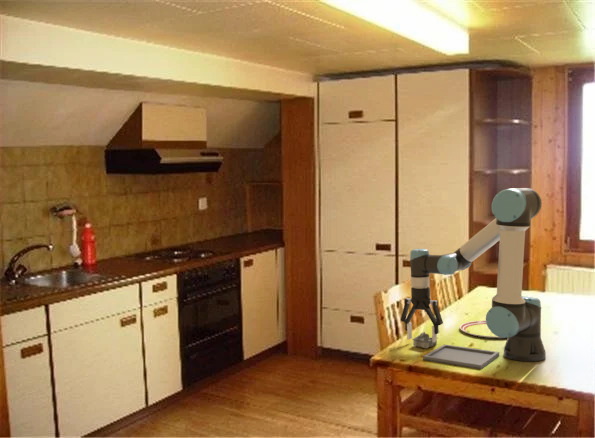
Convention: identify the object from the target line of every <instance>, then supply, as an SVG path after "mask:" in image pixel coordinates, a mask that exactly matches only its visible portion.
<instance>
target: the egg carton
mask: <svg viewBox="0 0 595 438" xmlns="http://www.w3.org/2000/svg"><path fill="white" fill-rule="evenodd" d="M412 341H413V343H412V345H413V346H414V347H419V348H424V349H429V347H433V346H436V345H437V344H438V340H437V341H436V342H432V337H430V335H429V333H426V332H425V331H423V332H421V333H420V334H419V335H417V336H415V337H414V338H412Z"/></svg>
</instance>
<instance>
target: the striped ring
mask: <svg viewBox="0 0 595 438" xmlns="http://www.w3.org/2000/svg"><path fill="white" fill-rule="evenodd" d="M475 325H476V326H477V325H487V324H486V320H472V321H467V322H464V323H461V324H460V325H459V329H460V330H461V331H462V332H464V333H466V334H468V335H471V336H474V337H477V336H478V338H483V337H484V339H485V338H486V339H503V338H502V337H498V336H496V335H495V336H493V335H482V334H476V333H471V332H468V331H467V328H469V327H472V326H475ZM507 338H508V337H507ZM507 338H506V339H507Z"/></svg>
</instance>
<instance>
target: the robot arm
mask: <svg viewBox="0 0 595 438" xmlns="http://www.w3.org/2000/svg"><path fill="white" fill-rule="evenodd" d="M542 203H543V202H542V198H541V196H540V194H539V192H537V191H535V190H534V189H533V188H530V187H529V188H528V187H520V188H519V187H518V188H514V187H512V188H507V189H503V190H501V191H500V190H499V192H498V193H497V194H496V195H495V196H494V197H493V200H492V202H491V212H492V215H494V219H492V221H490V222H488V224H487V225H486V226H485V227H483V228H482V229H480V230H479V231H478V232H477V233H476V234H474V235H473V236H472V237H471V238H469V239H468V240H467V241H466V242H465V243H463V244H462V245H461V246H460V247H459V248H457V249H456V250H455V251H454V252H451V253H445V254H430V252H429V249H427V248H415V249H412V250H411V251H410V256H409V258H410V259H409V263H410V286H411V288H410V293H411V294H410V295H411V298H409V297H407V298H404V306H403V309H402V312H401V317H400V322H403V323H404V328H405V329H404V330H405V331H406V333H407V335H406V336H407V340H412V339H413V335H412V334H413V333H412V332H413V331H412V329H413V328H412V325H413V324H412V322H411V320H412V318H413V316H414V314H415V313H416V311H417V310H422V311H424V312H425V313H426V314H427V315H428V317H429V320H430V321H431V322H432V323H431V324H433V325H432V326H431V333H432V334H431V335H432V336H431V338H432V342H436V341H437V342H438V337H437V335H438V334H439V327H440V326H441V325H443V324H444V321H443V318H442V314H441V312H440V309H439V305H438V303H439V301H438V300H432V299H431V287H430V274H436V275H444V276H451V275H454V274H455V273H456V272H458V271H464V270H467V269H469V268H470V267H471V266H472V262H474V261H476V259H477V258H479V257H481V255H483V254H484V253H485V252H486V251H488V250H489V249H490V248H492V247H493V246H494V245H495V244H497V242H499V245H498V249H499V250H498V265H497V267H498V268H497V281H496V282H497V284H496V294H495V295H494V296H493V297H491V308H490V309H488V310H487V312H486V314H485V321H486V324H485V325H487V328H488V329H489V330H490V332H491V333H492V334H493V335H495V336H497V337H502V338H501V339H506V342H505V345H504V348H503V356H504V357H506V358H508V359H509V360H515V361H520V362H539V361H543V360H545V359H546V357H547V356H546V353H547V352H546V349H545V346H544V343H543V339H542V334H541V333H542V328H541V326H542V325H541V324H542V307H541V306H542V305H541V304H542V303H541V300H540V299H539V298H537V297H532V296H522V291H523V290H522V289H523V272H524V257H525V243H526V241H525V239H526V231H527V230H528V229H529V228H530V227H531V220H533V219H534V218H535V217H536V216H537V215H538V214H539V213H540V211H541V209H542V206H543V205H542ZM411 304H412V307H411V309H410V310H409V308H410V305H411ZM430 304H431V306H432V308H431V306H430ZM408 312H409V313H408ZM507 337H508V338H507Z"/></svg>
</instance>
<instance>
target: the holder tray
mask: <svg viewBox="0 0 595 438" xmlns="http://www.w3.org/2000/svg"><path fill="white" fill-rule="evenodd" d="M498 357H500V351H494V350H487V349H481V348H472V347H466V346H460V345H459V346H458V345H451V344H442V345H441V346H439V347H437V348H435V349H433V350H431V351H430V352H428V353H426V354H425V355H422V358H423V359H422V360H423V361H427V362H433V363H438V364H446V365H452V366H457V367H458V366H459V367H465V368H469V369H470V368H471V369H477V370H482V369H484V368H485V367H486V366H488V365H489V364H490V363H492V362H493V361H494V360H496V359H497V358H498Z"/></svg>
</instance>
